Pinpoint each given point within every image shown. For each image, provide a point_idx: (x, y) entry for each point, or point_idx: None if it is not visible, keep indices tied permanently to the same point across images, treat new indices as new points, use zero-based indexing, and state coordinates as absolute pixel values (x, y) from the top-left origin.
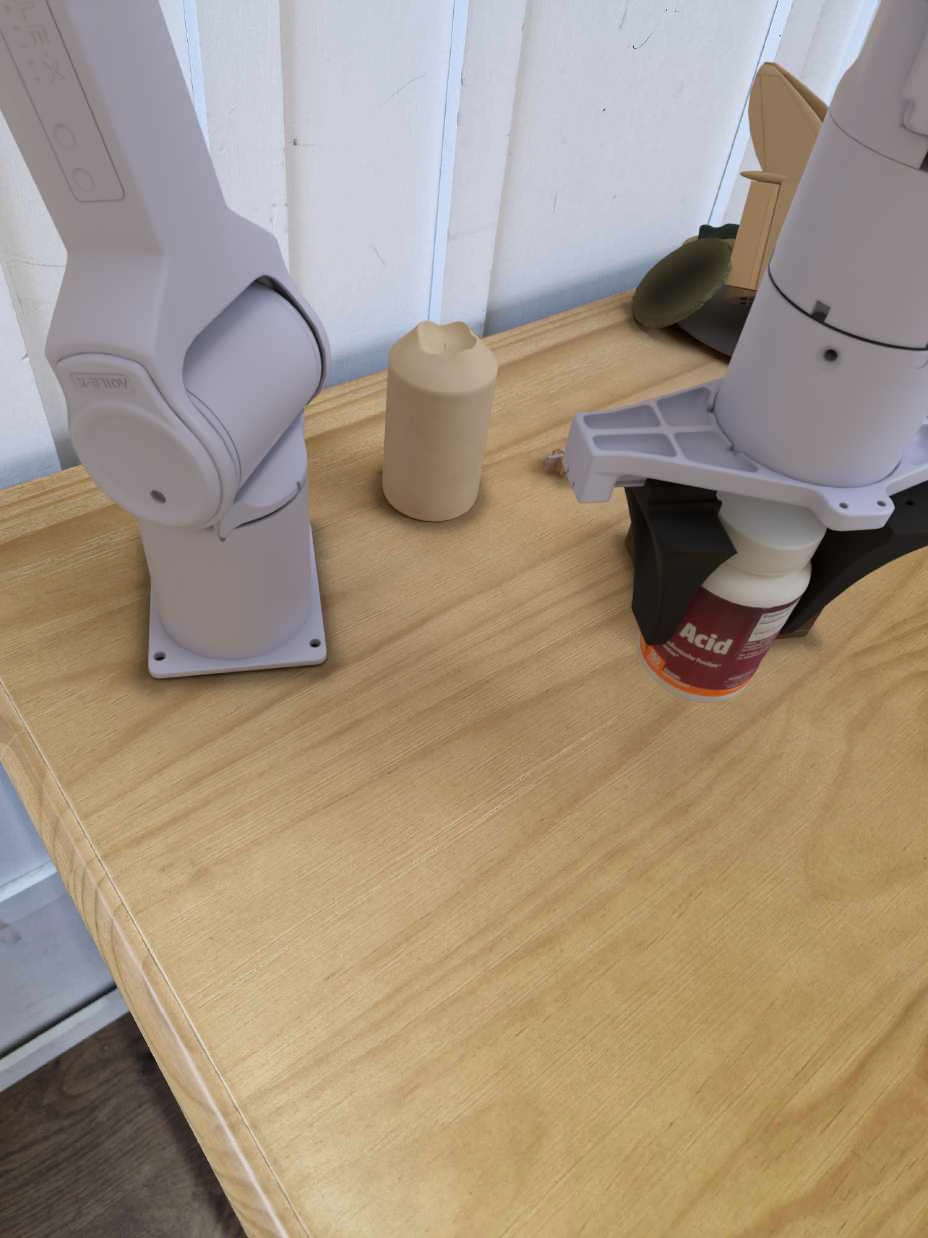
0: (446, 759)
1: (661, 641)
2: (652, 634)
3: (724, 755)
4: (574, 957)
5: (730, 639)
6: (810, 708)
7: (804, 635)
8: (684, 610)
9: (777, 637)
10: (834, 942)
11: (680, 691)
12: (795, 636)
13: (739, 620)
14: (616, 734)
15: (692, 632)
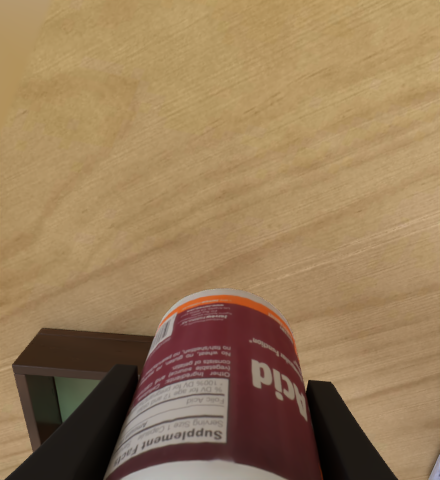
0: (415, 279)
1: (320, 387)
2: (345, 404)
3: (165, 236)
4: (394, 76)
5: (256, 387)
6: (64, 263)
7: (43, 329)
8: (343, 458)
9: (70, 331)
10: (134, 32)
11: (273, 309)
12: (52, 329)
13: (260, 430)
14: (255, 273)
15: (298, 402)
